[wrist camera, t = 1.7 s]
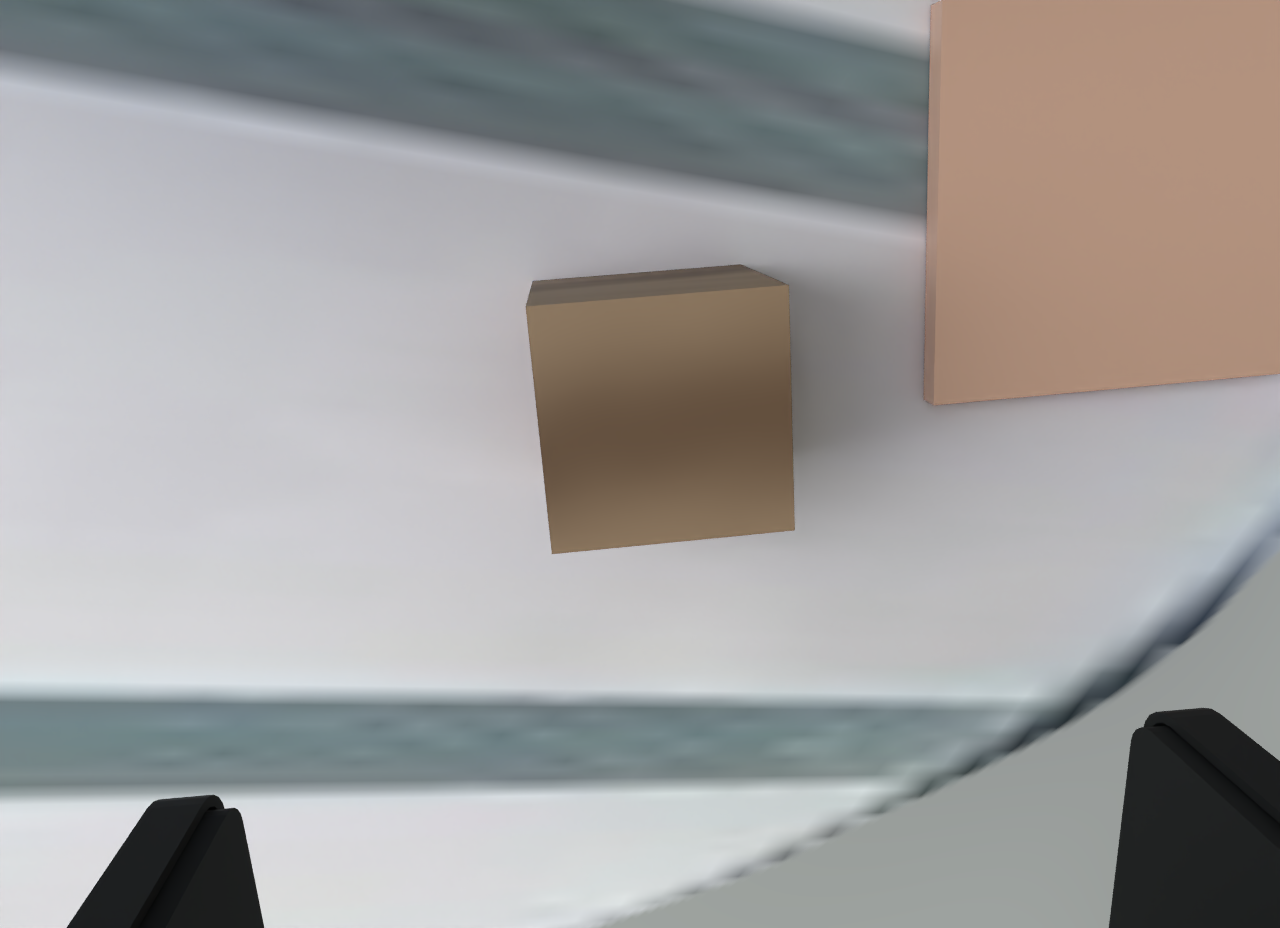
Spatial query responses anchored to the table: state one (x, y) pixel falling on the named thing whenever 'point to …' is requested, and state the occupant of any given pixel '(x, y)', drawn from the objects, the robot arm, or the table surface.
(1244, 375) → the coaster
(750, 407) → the walnut block
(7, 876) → the table surface
